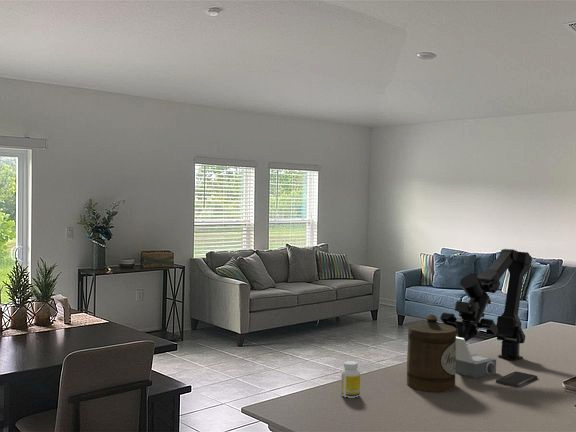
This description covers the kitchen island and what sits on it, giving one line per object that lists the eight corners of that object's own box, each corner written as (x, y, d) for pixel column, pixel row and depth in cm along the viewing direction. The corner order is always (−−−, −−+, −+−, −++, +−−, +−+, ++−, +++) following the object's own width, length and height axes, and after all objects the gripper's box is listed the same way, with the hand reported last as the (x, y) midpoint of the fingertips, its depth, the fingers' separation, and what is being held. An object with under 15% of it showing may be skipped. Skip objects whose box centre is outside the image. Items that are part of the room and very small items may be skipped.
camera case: (474, 367, 214) (475, 353, 214) (497, 373, 207) (497, 359, 207) (454, 372, 208) (454, 358, 208) (476, 378, 200) (476, 364, 200)
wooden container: (456, 393, 184) (458, 320, 184) (406, 390, 187) (407, 318, 187) (453, 379, 199) (454, 311, 198) (406, 376, 202) (407, 309, 201)
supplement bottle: (363, 396, 182) (363, 363, 181) (350, 400, 178) (351, 366, 178) (350, 391, 186) (350, 359, 185) (337, 395, 182) (337, 362, 182)
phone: (538, 376, 201) (517, 385, 191) (538, 379, 201) (517, 389, 191) (515, 371, 207) (493, 380, 196) (515, 374, 207) (493, 383, 196)
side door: (445, 334, 204) (444, 335, 204) (464, 338, 198) (463, 339, 197) (456, 358, 207) (454, 360, 207) (474, 363, 201) (473, 365, 201)
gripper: (442, 288, 211) (424, 326, 204) (493, 295, 198) (476, 335, 191) (455, 308, 217) (438, 345, 210) (505, 315, 204) (489, 355, 197)
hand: (459, 344), depth 202 cm, fingers closed, pressing on side door
